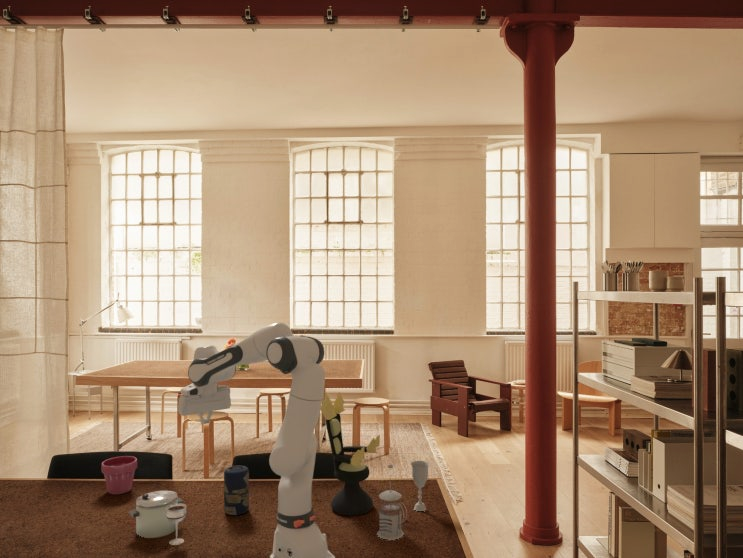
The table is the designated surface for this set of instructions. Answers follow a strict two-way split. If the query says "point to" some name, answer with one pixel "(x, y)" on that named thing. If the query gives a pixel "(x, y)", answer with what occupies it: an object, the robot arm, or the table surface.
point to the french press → (395, 529)
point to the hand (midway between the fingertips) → (205, 423)
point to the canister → (236, 490)
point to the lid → (156, 498)
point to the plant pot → (119, 473)
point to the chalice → (420, 480)
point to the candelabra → (347, 463)
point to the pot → (153, 520)
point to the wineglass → (176, 518)
